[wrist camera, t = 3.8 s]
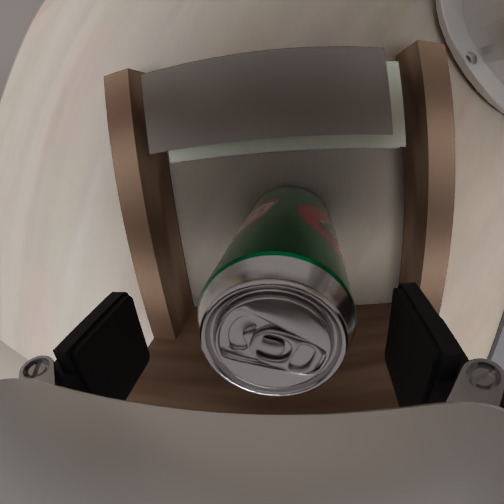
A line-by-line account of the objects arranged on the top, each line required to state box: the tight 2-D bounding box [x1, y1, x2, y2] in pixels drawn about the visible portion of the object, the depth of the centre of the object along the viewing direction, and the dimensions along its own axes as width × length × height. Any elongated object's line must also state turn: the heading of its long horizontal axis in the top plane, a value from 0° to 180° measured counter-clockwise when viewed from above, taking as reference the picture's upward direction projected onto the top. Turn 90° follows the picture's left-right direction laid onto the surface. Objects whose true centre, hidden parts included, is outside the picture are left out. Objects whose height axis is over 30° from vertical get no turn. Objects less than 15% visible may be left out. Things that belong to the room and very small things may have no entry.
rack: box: [104, 40, 455, 415], centre depth 13 cm, size 18×18×14 cm
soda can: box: [198, 187, 357, 397], centre depth 14 cm, size 5×5×12 cm
